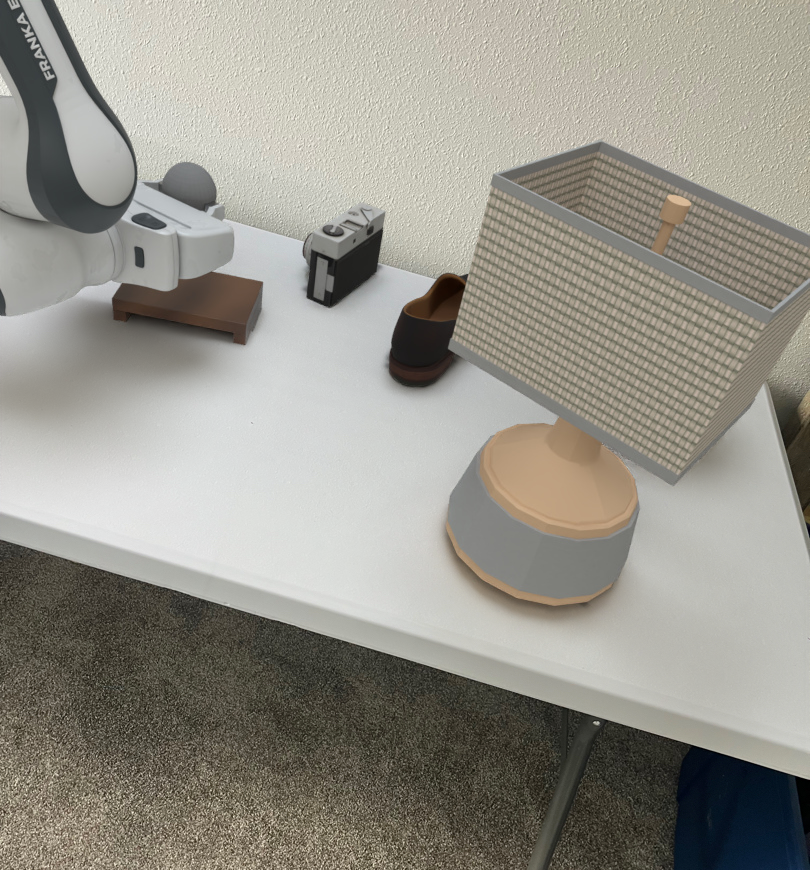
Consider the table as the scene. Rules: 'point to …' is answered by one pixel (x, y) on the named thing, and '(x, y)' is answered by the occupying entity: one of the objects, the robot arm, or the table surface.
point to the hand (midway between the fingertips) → (195, 198)
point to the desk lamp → (609, 354)
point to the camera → (343, 253)
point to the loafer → (426, 333)
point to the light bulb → (189, 185)
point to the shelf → (197, 303)
